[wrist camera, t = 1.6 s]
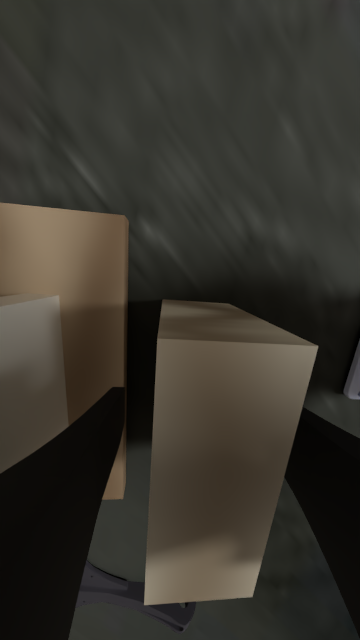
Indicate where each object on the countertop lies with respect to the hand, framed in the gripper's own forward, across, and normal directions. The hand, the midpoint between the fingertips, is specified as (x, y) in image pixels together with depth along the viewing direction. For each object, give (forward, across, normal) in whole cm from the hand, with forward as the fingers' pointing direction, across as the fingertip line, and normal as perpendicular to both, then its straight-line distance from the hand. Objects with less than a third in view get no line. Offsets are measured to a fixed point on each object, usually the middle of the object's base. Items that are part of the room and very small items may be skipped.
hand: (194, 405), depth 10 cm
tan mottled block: (+3, 0, 0) cm, 3 cm away
